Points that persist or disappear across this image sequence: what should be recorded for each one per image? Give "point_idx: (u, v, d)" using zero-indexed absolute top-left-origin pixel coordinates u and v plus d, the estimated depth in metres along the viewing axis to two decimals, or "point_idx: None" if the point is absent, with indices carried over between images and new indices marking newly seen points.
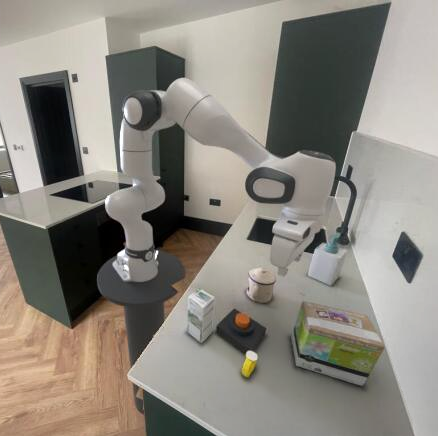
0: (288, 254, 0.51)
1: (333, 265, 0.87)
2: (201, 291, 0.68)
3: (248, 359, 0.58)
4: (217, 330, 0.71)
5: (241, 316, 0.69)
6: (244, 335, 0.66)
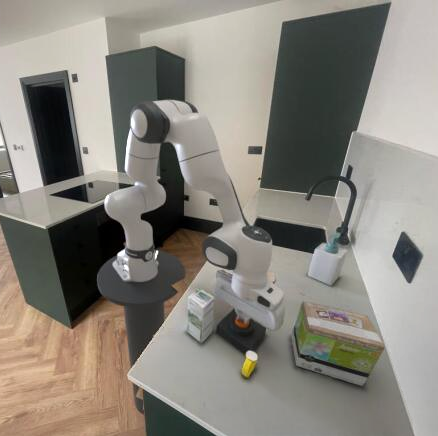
0: (284, 312, 0.59)
1: (333, 265, 0.87)
2: (201, 291, 0.68)
3: (248, 359, 0.58)
4: (217, 330, 0.71)
5: None
6: (244, 335, 0.66)
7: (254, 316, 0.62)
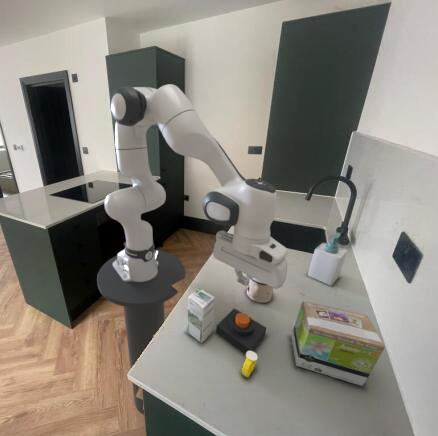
0: (286, 270, 0.57)
1: (333, 265, 0.87)
2: (201, 291, 0.68)
3: (248, 359, 0.58)
4: (217, 330, 0.71)
5: (241, 316, 0.69)
6: (244, 335, 0.66)
7: (255, 275, 0.60)
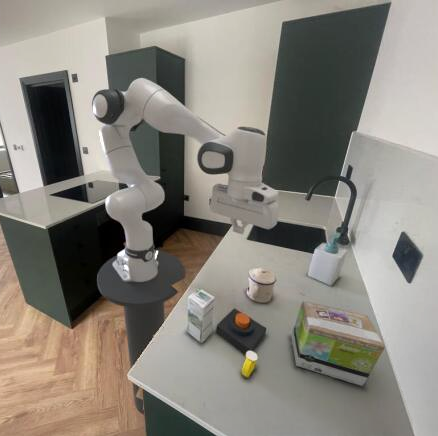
0: (278, 211, 0.61)
1: (333, 265, 0.87)
2: (201, 291, 0.68)
3: (248, 359, 0.58)
4: (217, 330, 0.71)
5: (241, 316, 0.69)
6: (244, 335, 0.66)
7: (249, 220, 0.64)
